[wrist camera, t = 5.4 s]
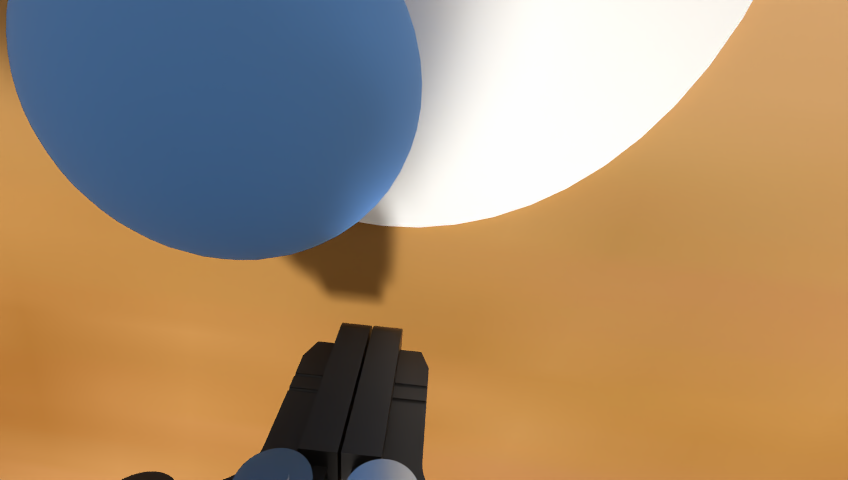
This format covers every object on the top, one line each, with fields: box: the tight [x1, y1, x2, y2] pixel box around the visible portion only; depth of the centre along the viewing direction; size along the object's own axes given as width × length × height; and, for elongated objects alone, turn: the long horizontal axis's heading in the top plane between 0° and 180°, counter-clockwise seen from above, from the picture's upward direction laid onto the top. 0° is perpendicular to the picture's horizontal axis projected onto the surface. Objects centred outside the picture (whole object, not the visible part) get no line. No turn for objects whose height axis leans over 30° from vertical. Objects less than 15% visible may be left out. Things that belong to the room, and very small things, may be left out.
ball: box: [6, 0, 422, 260], centre depth 7 cm, size 6×6×6 cm
